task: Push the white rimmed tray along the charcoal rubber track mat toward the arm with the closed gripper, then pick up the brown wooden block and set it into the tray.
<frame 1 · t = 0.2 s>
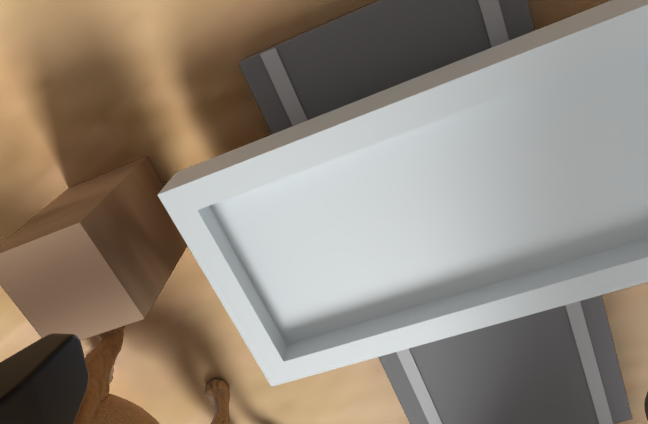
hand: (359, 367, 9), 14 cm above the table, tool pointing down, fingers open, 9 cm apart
track mat: (458, 255, 24), on the table
white rimmed tray: (437, 203, 20), point 3 cm above the table, slide at 0.0 cm
lion figurine: (151, 376, 28), on the table
brown wooden block: (131, 212, 24), on the table
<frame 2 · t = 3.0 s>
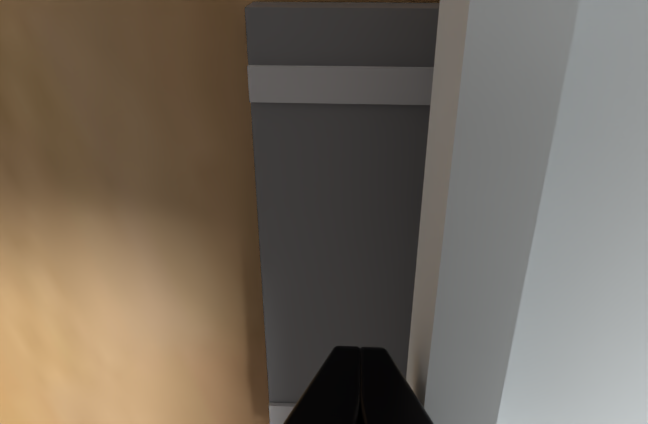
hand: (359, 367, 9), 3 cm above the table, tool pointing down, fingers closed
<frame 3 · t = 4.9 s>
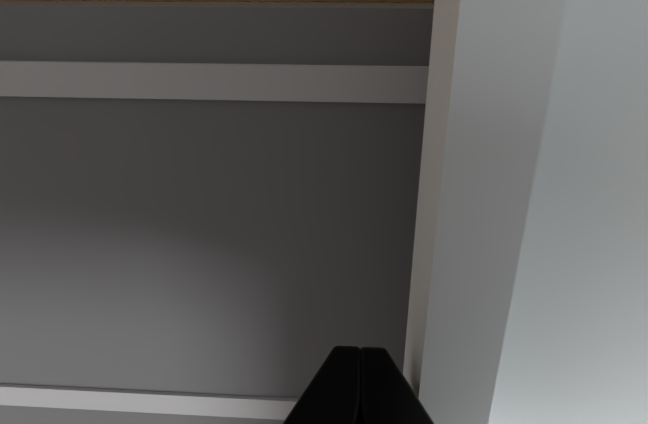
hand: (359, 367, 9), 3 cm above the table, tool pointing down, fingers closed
track mat: (390, 253, 12), on the table
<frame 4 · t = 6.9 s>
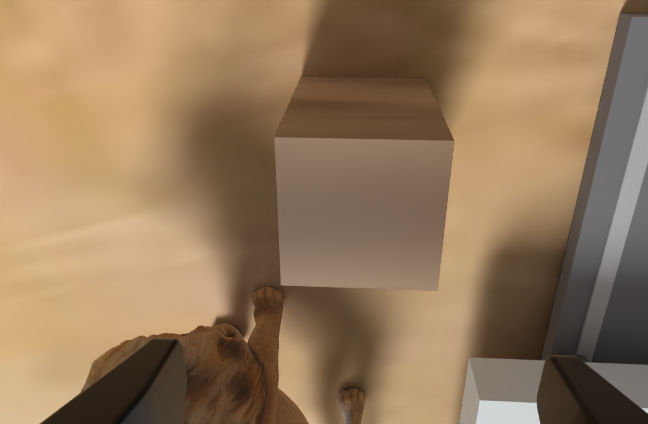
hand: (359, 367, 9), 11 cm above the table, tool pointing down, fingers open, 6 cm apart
lion figurine: (276, 363, 23), on the table
brown wooden block: (361, 136, 18), on the table
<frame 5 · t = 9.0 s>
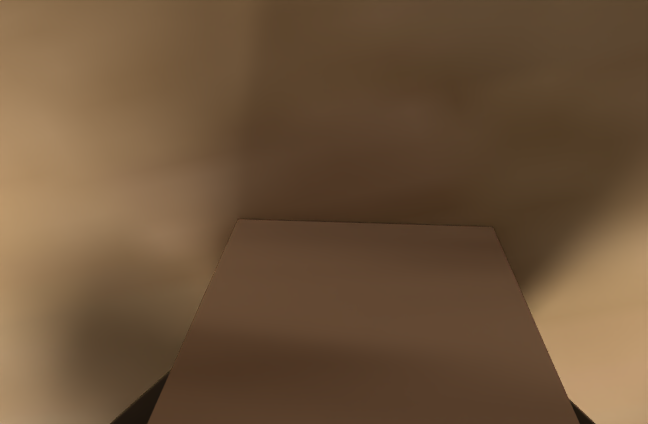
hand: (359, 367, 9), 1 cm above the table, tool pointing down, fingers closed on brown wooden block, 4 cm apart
brown wooden block: (359, 324, 10), on the table, touching gripper
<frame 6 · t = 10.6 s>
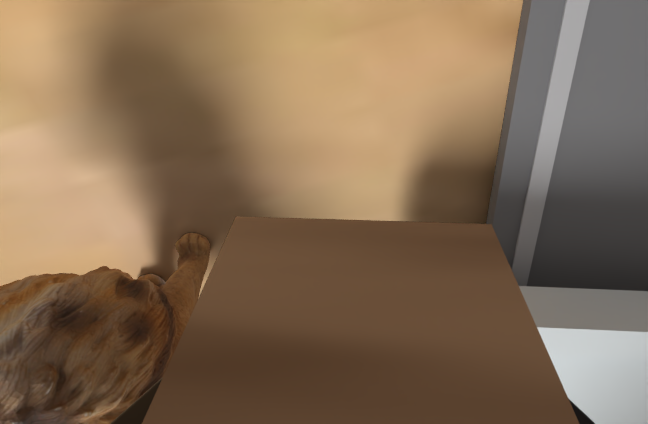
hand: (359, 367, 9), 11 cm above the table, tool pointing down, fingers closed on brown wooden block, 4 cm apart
track mat: (627, 246, 19), on the table
white rimmed tray: (624, 401, 19), point 3 cm above the table, slide at 8.7 cm
lion figurine: (209, 317, 22), on the table
brown wooden block: (358, 322, 9), point 9 cm above the table, touching gripper
when the fingers open (6 cm above the table, at t = 12.6 s): brown wooden block drops 1 cm, resting on white rimmed tray.
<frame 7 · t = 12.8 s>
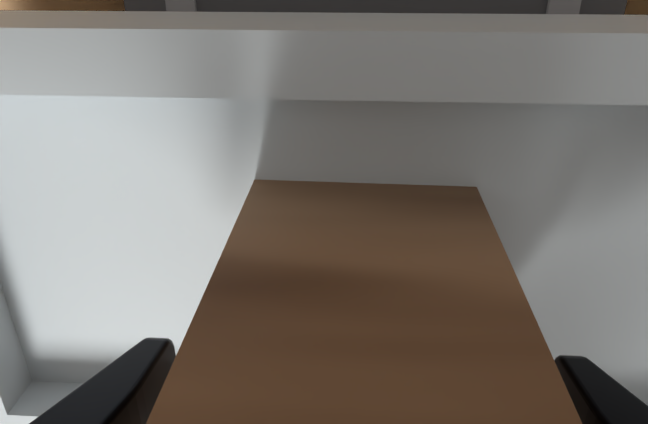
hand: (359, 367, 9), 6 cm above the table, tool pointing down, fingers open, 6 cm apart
white rimmed tray: (361, 244, 11), point 3 cm above the table, slide at 8.7 cm, touching brown wooden block
brown wooden block: (360, 276, 11), point 3 cm above the table, touching white rimmed tray
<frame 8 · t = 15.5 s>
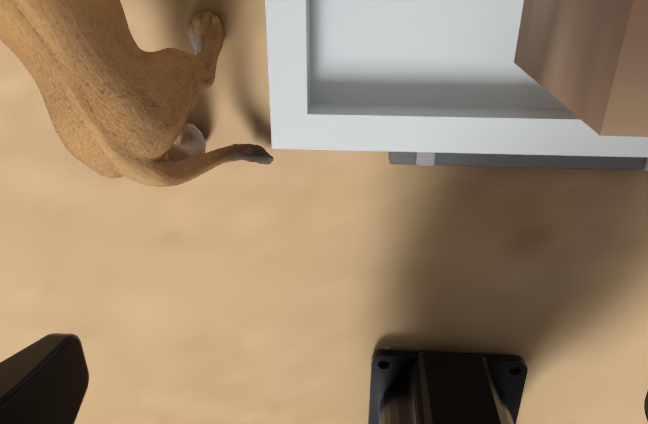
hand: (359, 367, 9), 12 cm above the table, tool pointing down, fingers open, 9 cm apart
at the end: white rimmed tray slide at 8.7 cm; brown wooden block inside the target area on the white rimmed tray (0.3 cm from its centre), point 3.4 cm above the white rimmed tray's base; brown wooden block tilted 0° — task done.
